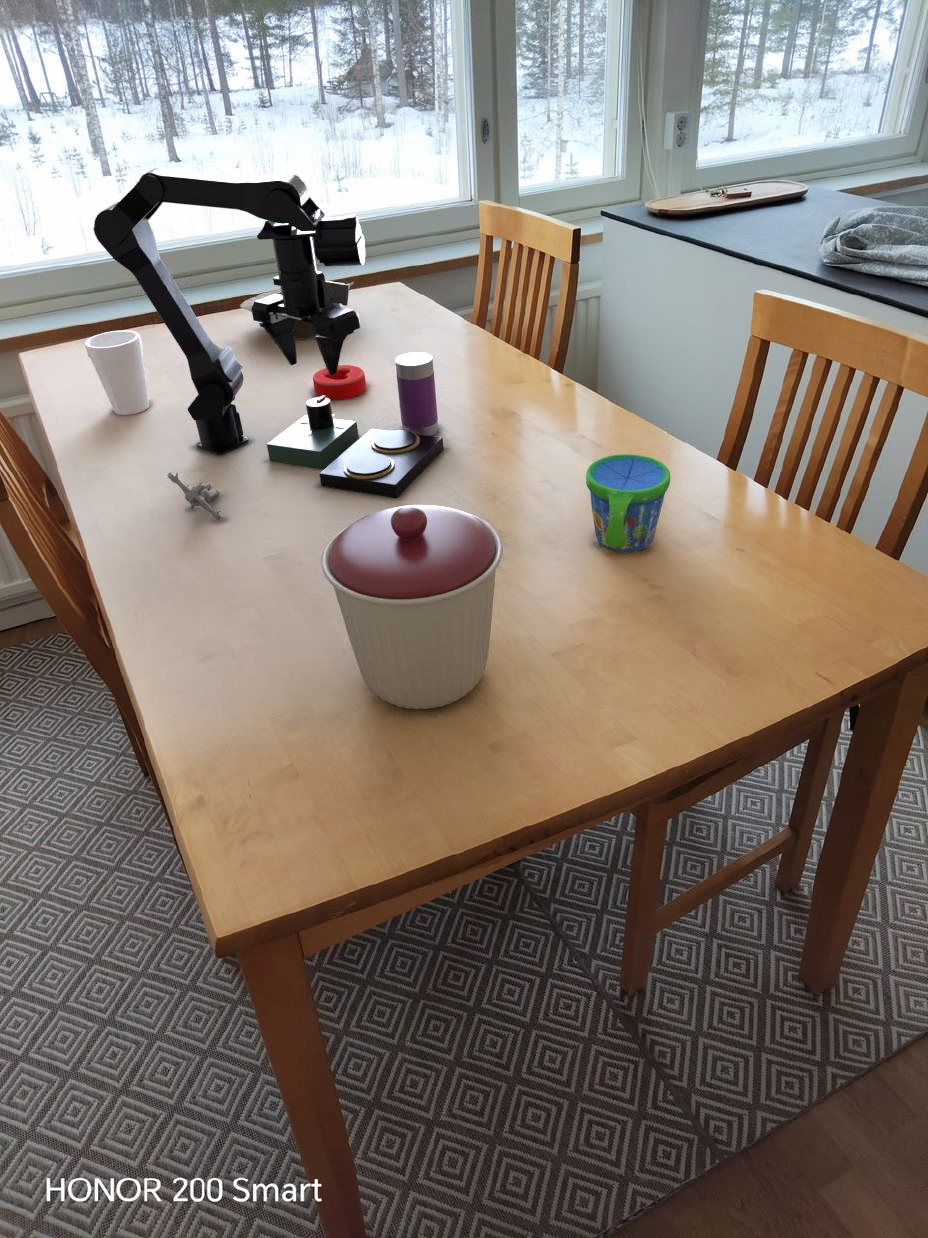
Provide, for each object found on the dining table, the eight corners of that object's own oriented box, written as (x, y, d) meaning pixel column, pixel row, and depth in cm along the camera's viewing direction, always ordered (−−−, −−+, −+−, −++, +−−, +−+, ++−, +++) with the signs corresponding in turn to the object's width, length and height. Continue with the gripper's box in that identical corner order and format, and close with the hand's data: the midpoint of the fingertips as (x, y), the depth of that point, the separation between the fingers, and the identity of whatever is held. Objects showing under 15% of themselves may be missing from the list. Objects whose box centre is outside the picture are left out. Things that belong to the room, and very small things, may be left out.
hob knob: (326, 430, 148) (322, 405, 145) (304, 428, 149) (300, 403, 147) (338, 421, 151) (334, 396, 148) (317, 418, 152) (313, 394, 150)
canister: (501, 624, 107) (495, 461, 95) (513, 728, 92) (508, 551, 80) (349, 634, 107) (323, 473, 95) (337, 739, 93) (304, 565, 80)
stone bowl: (339, 344, 190) (329, 300, 185) (230, 351, 196) (218, 309, 191) (371, 305, 209) (363, 264, 204) (272, 313, 215) (261, 273, 210)
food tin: (422, 441, 150) (415, 368, 142) (395, 433, 153) (387, 361, 146) (445, 428, 153) (440, 356, 146) (418, 420, 157) (412, 349, 149)
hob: (321, 486, 139) (318, 469, 137) (372, 440, 151) (370, 424, 149) (397, 498, 134) (395, 480, 132) (443, 449, 147) (442, 433, 145)
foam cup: (165, 397, 172) (147, 329, 165) (146, 417, 165) (127, 347, 157) (117, 398, 173) (97, 330, 166) (97, 418, 166) (75, 348, 158)
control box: (269, 461, 147) (266, 443, 145) (311, 428, 157) (308, 411, 155) (323, 468, 144) (320, 450, 142) (362, 435, 153) (359, 417, 151)
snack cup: (647, 578, 113) (653, 506, 107) (567, 563, 117) (568, 493, 111) (677, 519, 125) (684, 451, 119) (603, 507, 128) (606, 440, 122)
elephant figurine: (249, 498, 137) (227, 507, 128) (226, 527, 139) (203, 538, 130) (197, 453, 136) (172, 459, 128) (175, 483, 138) (148, 491, 129)
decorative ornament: (309, 386, 173) (307, 370, 171) (358, 376, 175) (356, 360, 173) (322, 403, 165) (319, 387, 164) (372, 393, 168) (370, 376, 166)
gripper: (378, 261, 135) (390, 363, 144) (294, 248, 145) (310, 344, 154) (324, 281, 129) (340, 387, 138) (240, 265, 139) (260, 365, 148)
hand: (313, 369), depth 145 cm, fingers open, 9 cm apart
